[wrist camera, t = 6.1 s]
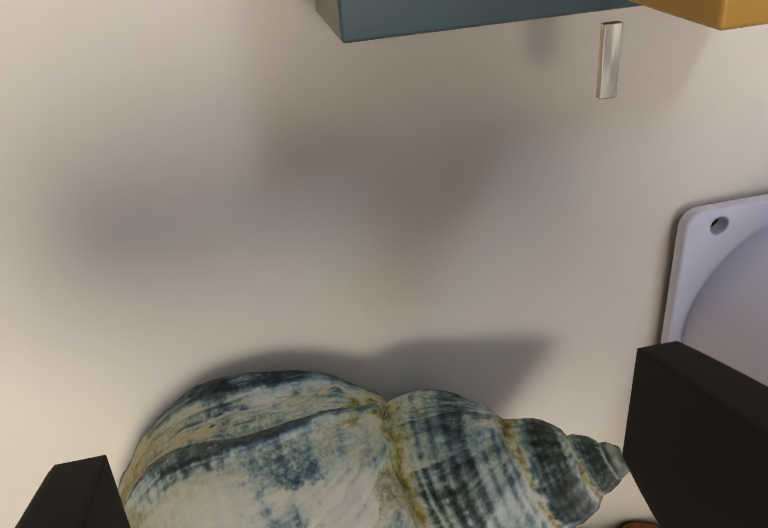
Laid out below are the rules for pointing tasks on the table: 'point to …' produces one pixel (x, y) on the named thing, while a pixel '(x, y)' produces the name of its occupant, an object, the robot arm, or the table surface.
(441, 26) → the plate
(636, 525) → the wooden figurine
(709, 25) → the tap handle
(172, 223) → the table surface
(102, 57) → the table surface
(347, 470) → the seashell
